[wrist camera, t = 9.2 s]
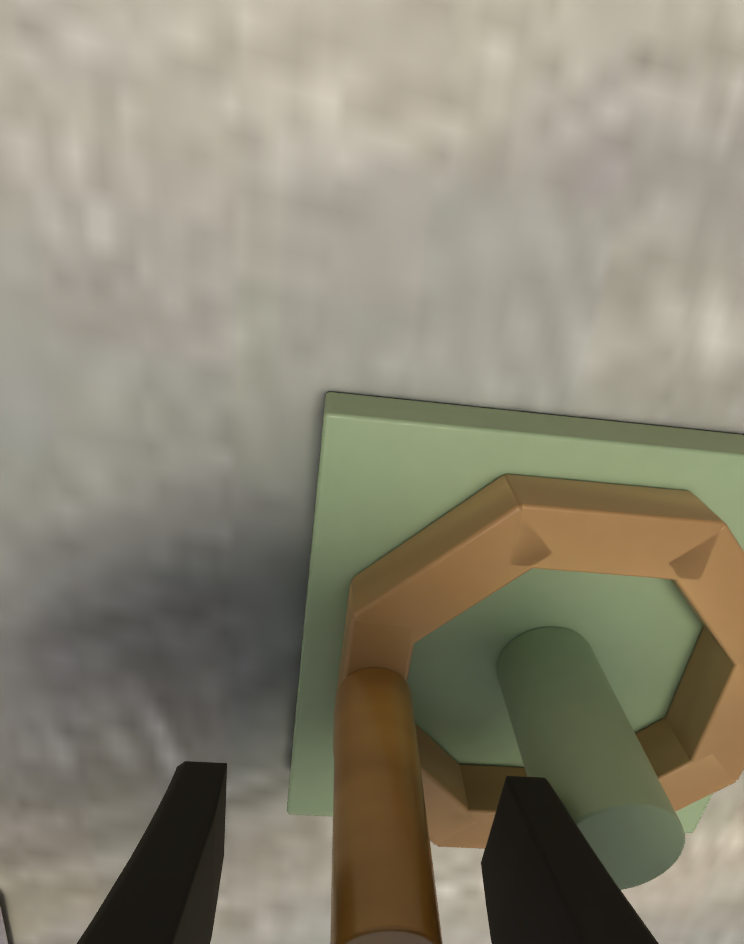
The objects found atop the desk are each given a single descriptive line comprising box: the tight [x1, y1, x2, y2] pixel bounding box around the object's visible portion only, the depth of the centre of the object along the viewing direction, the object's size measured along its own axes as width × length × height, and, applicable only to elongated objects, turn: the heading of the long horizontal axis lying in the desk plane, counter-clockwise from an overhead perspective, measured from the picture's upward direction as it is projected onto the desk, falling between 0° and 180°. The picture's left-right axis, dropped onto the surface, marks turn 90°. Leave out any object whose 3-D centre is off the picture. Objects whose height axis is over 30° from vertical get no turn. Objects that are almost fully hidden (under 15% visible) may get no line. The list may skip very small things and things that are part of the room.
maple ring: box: [330, 474, 744, 944], centre depth 11 cm, size 8×8×6 cm
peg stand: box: [287, 392, 744, 890], centre depth 12 cm, size 10×10×5 cm
